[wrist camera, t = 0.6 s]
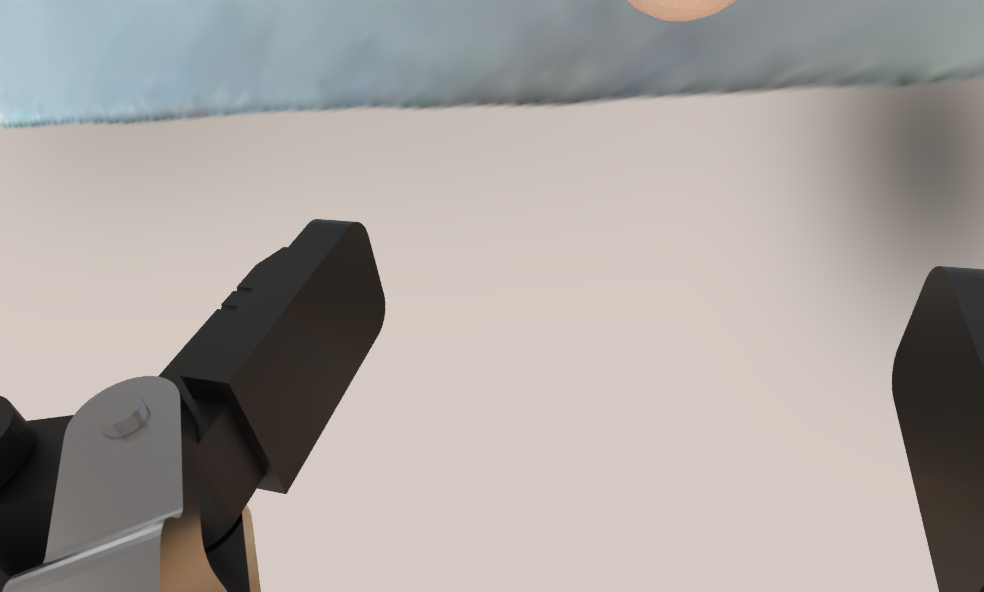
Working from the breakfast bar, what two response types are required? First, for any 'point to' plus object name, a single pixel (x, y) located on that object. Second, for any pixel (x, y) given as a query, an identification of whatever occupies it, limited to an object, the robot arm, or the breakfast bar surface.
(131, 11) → the breakfast bar surface
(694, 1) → the egg
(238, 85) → the breakfast bar surface
